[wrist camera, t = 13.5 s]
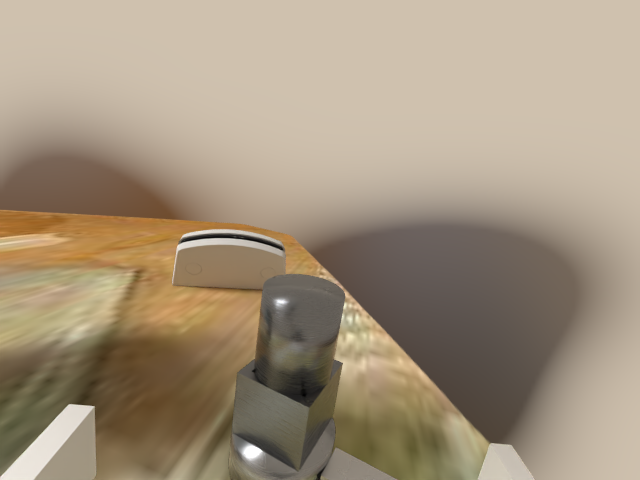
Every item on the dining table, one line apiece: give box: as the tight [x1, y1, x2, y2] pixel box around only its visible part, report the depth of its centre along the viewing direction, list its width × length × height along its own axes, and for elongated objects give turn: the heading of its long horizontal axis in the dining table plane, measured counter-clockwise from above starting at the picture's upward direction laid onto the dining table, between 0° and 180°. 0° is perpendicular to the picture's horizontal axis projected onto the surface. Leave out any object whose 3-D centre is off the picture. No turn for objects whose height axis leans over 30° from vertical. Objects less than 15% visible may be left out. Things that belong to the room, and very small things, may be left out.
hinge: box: [172, 229, 286, 290], centre depth 49 cm, size 17×5×10 cm, turn 102°
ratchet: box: [229, 394, 397, 480], centre depth 20 cm, size 20×7×6 cm, turn 64°
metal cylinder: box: [232, 274, 345, 472], centre depth 21 cm, size 5×5×10 cm
